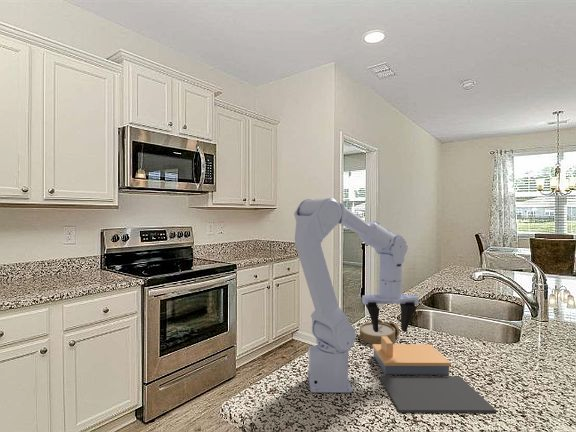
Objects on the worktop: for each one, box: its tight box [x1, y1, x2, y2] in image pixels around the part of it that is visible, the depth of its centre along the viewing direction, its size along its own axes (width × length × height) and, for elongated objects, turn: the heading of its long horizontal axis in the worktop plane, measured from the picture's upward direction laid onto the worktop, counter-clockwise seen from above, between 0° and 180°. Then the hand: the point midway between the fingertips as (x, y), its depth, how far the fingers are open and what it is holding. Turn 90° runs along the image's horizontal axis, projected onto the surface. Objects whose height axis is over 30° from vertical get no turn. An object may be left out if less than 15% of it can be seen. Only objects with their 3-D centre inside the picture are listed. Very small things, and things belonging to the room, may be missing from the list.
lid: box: [371, 336, 452, 367], centre depth 89 cm, size 17×12×5 cm
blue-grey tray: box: [373, 349, 450, 376], centre depth 89 cm, size 16×11×2 cm
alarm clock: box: [357, 318, 400, 345], centre depth 109 cm, size 11×5×15 cm
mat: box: [378, 375, 497, 414], centre depth 75 cm, size 20×14×1 cm
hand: (389, 330), depth 88 cm, fingers open, 7 cm apart
